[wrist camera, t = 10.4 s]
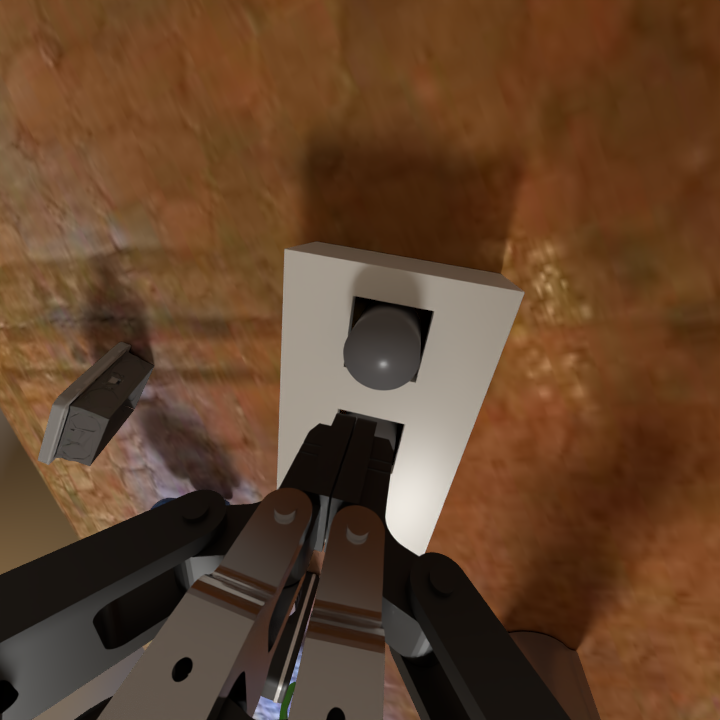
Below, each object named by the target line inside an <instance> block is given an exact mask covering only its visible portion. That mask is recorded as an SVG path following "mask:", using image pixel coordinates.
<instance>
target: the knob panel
mask: <svg viewBox="0 0 720 720" xmlns="http://www.w3.org/2000/svg"><path fill="white" fill-rule="evenodd" d="M524 293H525V292H524V291H523V290H521V289H520V288H519V287H517V286H516V285H515V284H514V283H512V282H511V281H510V280H508V279H507V278H506V277H505V276H503V275H502V274H499V273H493V272H488V271H482V270H476V269H471V268H465V267H459V266H454V265H448V264H442V263H436V262H431V261H425V260H419V259H414V258H408V257H402V256H397V255H391V254H385V253H379V252H374V251H368V250H362V249H357V248H351V247H345V246H340V245H334V244H328V243H323V242H317V241H315V242H311V243H307V244H303V245H299V246H295V247H291V248H287V249H285V255H284V286H283V317H282V348H281V379H280V410H279V441H278V472H277V489H278V488H279V487H280V485H281V483H282V481H283V480H284V478H285V476H286V474H287V472H288V470H289V468H290V466H291V464H292V463H293V461H294V459H295V457H296V455H297V453H298V452H299V449H300V447H301V446H302V444H303V443H304V440H305V438H306V436H307V434H308V432H309V431H310V430H311V429H312V428H314V427H315V426H316V425H318V424H319V423H321V424H326V425H330V426H331V425H332V423H333V420H334V418H335V416H336V414H337V413H340V409H342V410H346V411H350V412H354V413H359V414H363V415H367V416H372V417H376V418H380V419H384V420H389V421H393V422H397V423H401V424H404V425H403V429H402V433H401V437H400V441H399V445H398V449H397V453H396V457H395V460H394V464H393V465H392V468H391V474H390V483H389V491H388V499H387V506H386V516H385V518H386V523H387V527H388V529H389V531H390V533H391V534H392V536H393V537H394V538H395V539H396V540H397V541H398V542H399V543H400V544H401V545H403V546H404V547H405V548H407V549H409V550H410V551H412V552H413V553H415V554H416V555H418V556H420V555H422V554H425V551H426V548H427V546H428V543H429V541H430V538H431V535H432V533H433V530H434V527H435V525H436V522H437V520H438V517H439V514H440V512H441V509H442V507H443V504H444V501H445V499H446V496H447V494H448V491H449V488H450V486H451V483H452V481H453V478H454V475H455V473H456V470H457V468H458V465H459V462H460V460H461V457H462V455H463V452H464V449H465V447H466V444H467V442H468V439H469V436H470V434H471V431H472V429H473V426H474V423H475V421H476V418H477V415H478V413H479V410H480V408H481V405H482V402H483V400H484V397H485V395H486V392H487V389H488V387H489V384H490V382H491V379H492V376H493V374H494V371H495V369H496V366H497V363H498V361H499V358H500V356H501V353H502V350H503V348H504V345H505V343H506V340H507V337H508V335H509V332H510V330H511V327H512V324H513V322H514V319H515V317H516V314H517V311H518V309H519V306H520V303H521V301H522V298H523V296H524ZM356 296H358V297H363V298H368V299H374V300H379V301H384V302H389V303H394V304H400V305H405V306H410V307H415V308H420V309H426V310H431V311H433V313H432V317H431V321H430V324H429V328H428V332H427V336H426V340H425V344H424V348H423V352H422V356H421V359H420V364H419V367H418V371H417V375H416V376H415V375H414V377H413V378H412V379H411V380H410V381H409V382H408V383H406V384H405V385H403V386H401V387H399V388H396V389H393V390H385V391H383V390H374V389H371V388H368V387H366V386H364V385H362V384H360V383H359V382H358V381H356V380H355V379H354V378H353V377H352V375H351V374H350V373H349V371H348V370H347V368H346V365H345V362H344V358H343V349H344V344H345V341H346V339H347V337H348V335H349V334H350V332H351V327H352V319H353V312H354V305H355V298H356ZM325 542H326V539H325Z"/></svg>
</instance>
